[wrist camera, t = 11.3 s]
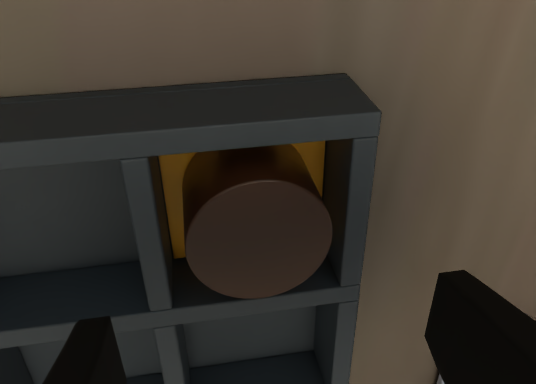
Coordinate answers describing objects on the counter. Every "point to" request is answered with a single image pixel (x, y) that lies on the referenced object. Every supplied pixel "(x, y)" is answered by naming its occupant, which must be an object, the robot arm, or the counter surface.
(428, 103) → the counter surface
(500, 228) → the counter surface
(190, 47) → the counter surface
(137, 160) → the grid
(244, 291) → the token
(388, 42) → the counter surface
